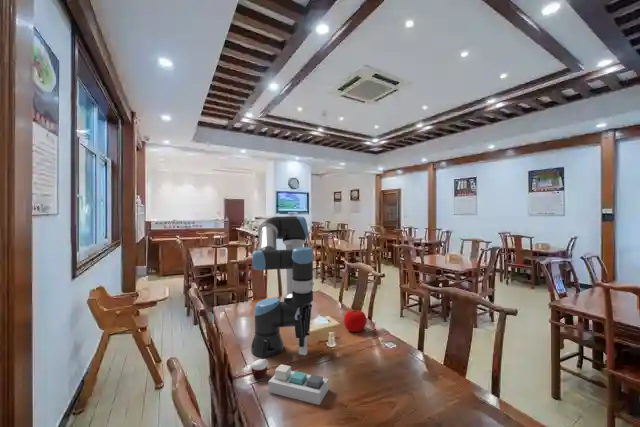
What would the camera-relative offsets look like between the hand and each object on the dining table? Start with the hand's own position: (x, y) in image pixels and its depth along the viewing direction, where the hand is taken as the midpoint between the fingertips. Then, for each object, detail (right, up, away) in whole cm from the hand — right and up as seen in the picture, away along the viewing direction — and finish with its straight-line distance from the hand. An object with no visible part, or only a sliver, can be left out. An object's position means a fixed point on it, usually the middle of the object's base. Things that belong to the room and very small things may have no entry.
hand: (302, 353), depth 111 cm
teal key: (-2, -12, 0) cm, 12 cm away
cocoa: (-18, -14, +11) cm, 25 cm away
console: (-2, -14, 0) cm, 14 cm away
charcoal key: (+4, -12, -2) cm, 13 cm away
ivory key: (-8, -11, +3) cm, 13 cm away
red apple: (+26, -13, +55) cm, 62 cm away
